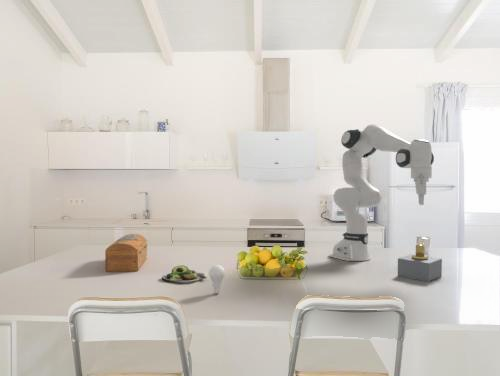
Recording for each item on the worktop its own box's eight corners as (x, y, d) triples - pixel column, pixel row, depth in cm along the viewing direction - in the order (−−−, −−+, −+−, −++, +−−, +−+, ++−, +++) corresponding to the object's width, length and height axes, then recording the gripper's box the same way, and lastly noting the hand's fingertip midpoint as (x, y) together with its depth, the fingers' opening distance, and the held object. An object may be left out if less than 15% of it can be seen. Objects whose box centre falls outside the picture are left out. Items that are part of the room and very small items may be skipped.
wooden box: (117, 259, 214) (117, 233, 214) (148, 258, 216) (148, 233, 216) (101, 272, 185) (101, 243, 184) (138, 272, 186) (137, 242, 186)
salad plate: (217, 277, 177) (217, 267, 177) (192, 287, 161) (192, 276, 161) (183, 272, 186) (182, 262, 186) (156, 281, 171) (156, 270, 171)
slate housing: (397, 275, 180) (397, 258, 180) (411, 270, 190) (411, 254, 189) (429, 281, 170) (429, 263, 170) (441, 276, 180) (441, 258, 179)
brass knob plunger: (408, 274, 180) (409, 245, 179) (415, 272, 185) (415, 243, 184) (424, 277, 175) (424, 247, 175) (430, 275, 180) (430, 245, 179)
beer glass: (431, 269, 193) (432, 238, 192) (416, 268, 194) (417, 238, 193) (428, 266, 199) (429, 236, 199) (413, 265, 201) (414, 236, 200)
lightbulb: (209, 291, 154) (209, 263, 154) (224, 291, 155) (224, 263, 155) (208, 296, 148) (208, 267, 148) (225, 295, 149) (225, 266, 149)
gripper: (429, 173, 172) (429, 205, 172) (427, 175, 191) (427, 203, 191) (413, 173, 174) (413, 205, 174) (413, 175, 193) (413, 203, 193)
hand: (421, 204), depth 183 cm, fingers open, 8 cm apart
